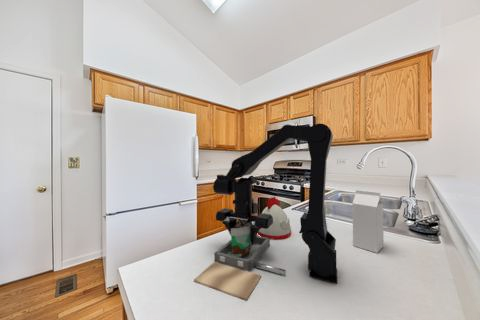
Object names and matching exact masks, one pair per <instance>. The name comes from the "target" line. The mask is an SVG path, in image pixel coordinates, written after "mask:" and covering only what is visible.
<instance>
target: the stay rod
mask: <svg viewBox="0 0 480 320" xmlns="http://www.w3.org/2000/svg"><path fill="white" fill-rule="evenodd" d="M253 267H254V268H256V269H259V270H264V271H267V272H271V273H274V274H278V275H282V276H286V275H287V269H284V268H281V267H277V266H273V265H269V264H265V263H261V262H259V261H258V262H254V263H253Z"/></svg>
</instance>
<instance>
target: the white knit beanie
mask: <svg viewBox="0 0 480 320" xmlns="http://www.w3.org/2000/svg"><path fill="white" fill-rule="evenodd" d="M267 198H268V197H267ZM280 202H281V201H280V200H278V198H276V196H273V197H272V196H271V197H270V198H268V199H267V201H266V202H265V204H266V207H265V208H264V209H263V210H262V212H261V213H263V214H270V215H271V216H272V217H273V224H272V225H271V226H270V227H269V228H268V229H264V228H261V229H260V230H259V231H258V234H257V236H259V235H260V236H261V237H265V238H270V241H281V240H286V239H288V238H290V237H291V236H292V228H291V227H292V226H291V224H290V223H291V222H290V218H288V215H287V214H286V212H285V210H284V209H283V208H281V206H280ZM261 213H259V214H258V215H260V214H261Z"/></svg>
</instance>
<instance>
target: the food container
mask: <svg viewBox="0 0 480 320" xmlns="http://www.w3.org/2000/svg"><path fill="white" fill-rule="evenodd" d="M252 225H253V222H250V221H244V220H238V219H237V222H236V224H235V226H234V228H231V235H230V237H231V238H230V240H231V244H232V249H231V255H232V256H236V257H239V258H243V259H246V258H247V257H248V256H249V255H250V254H251V248H252V247H251V246H252V245H251V234H250V227H251V226H252Z"/></svg>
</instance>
